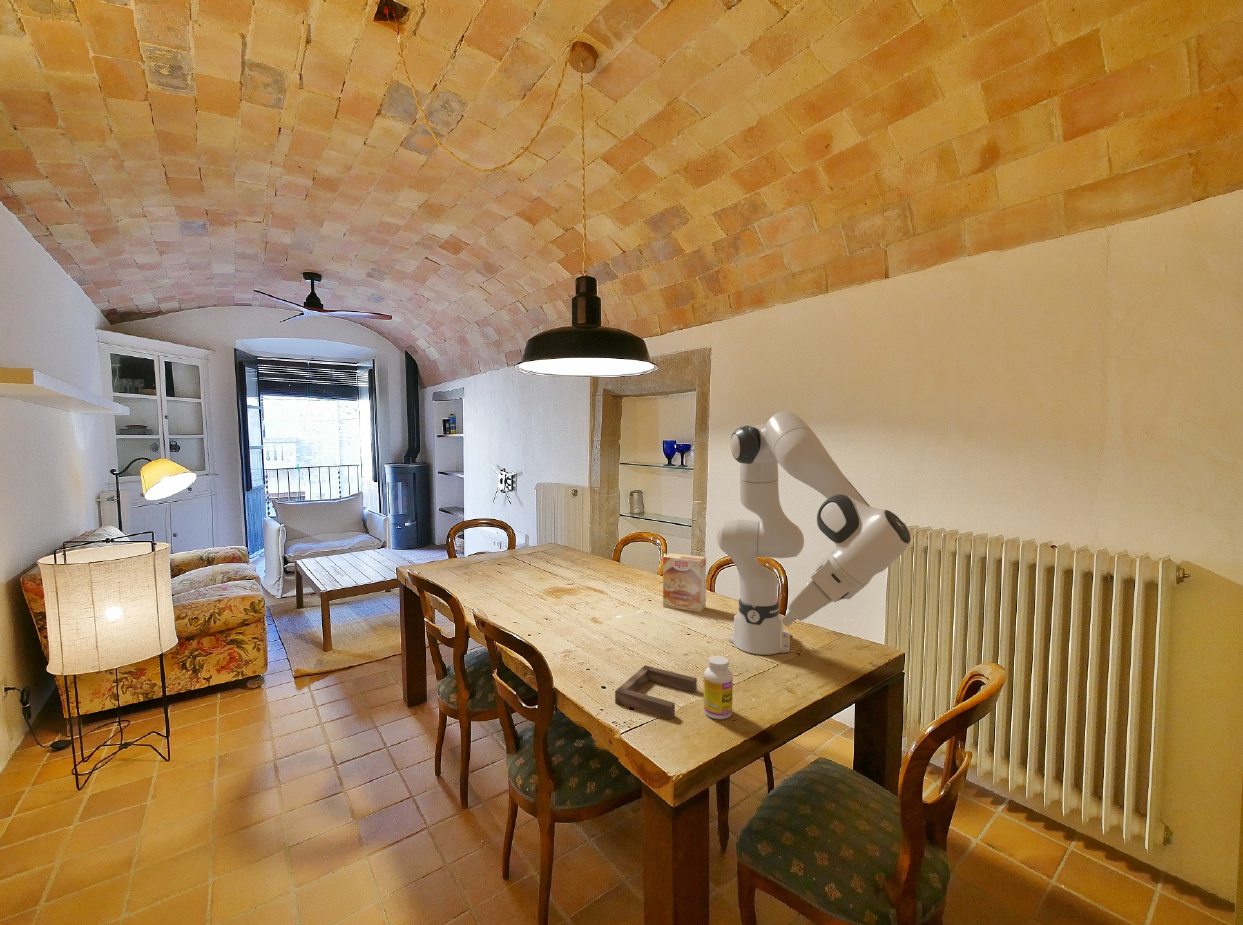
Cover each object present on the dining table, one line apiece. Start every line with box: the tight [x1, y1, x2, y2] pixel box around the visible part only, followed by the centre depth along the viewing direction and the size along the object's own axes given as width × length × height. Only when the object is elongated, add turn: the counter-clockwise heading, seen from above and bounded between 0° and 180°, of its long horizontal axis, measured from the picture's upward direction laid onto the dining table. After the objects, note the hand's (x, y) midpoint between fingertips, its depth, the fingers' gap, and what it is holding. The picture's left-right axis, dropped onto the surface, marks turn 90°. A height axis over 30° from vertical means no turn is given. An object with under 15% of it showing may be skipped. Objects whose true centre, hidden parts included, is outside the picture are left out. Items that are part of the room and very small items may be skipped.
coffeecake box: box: [662, 552, 707, 613], centre depth 196 cm, size 15×7×20 cm, turn 64°
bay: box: [614, 664, 698, 720], centre depth 130 cm, size 16×15×3 cm
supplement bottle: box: [703, 655, 734, 720], centre depth 122 cm, size 7×7×13 cm
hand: (792, 617), depth 111 cm, fingers open, 8 cm apart
